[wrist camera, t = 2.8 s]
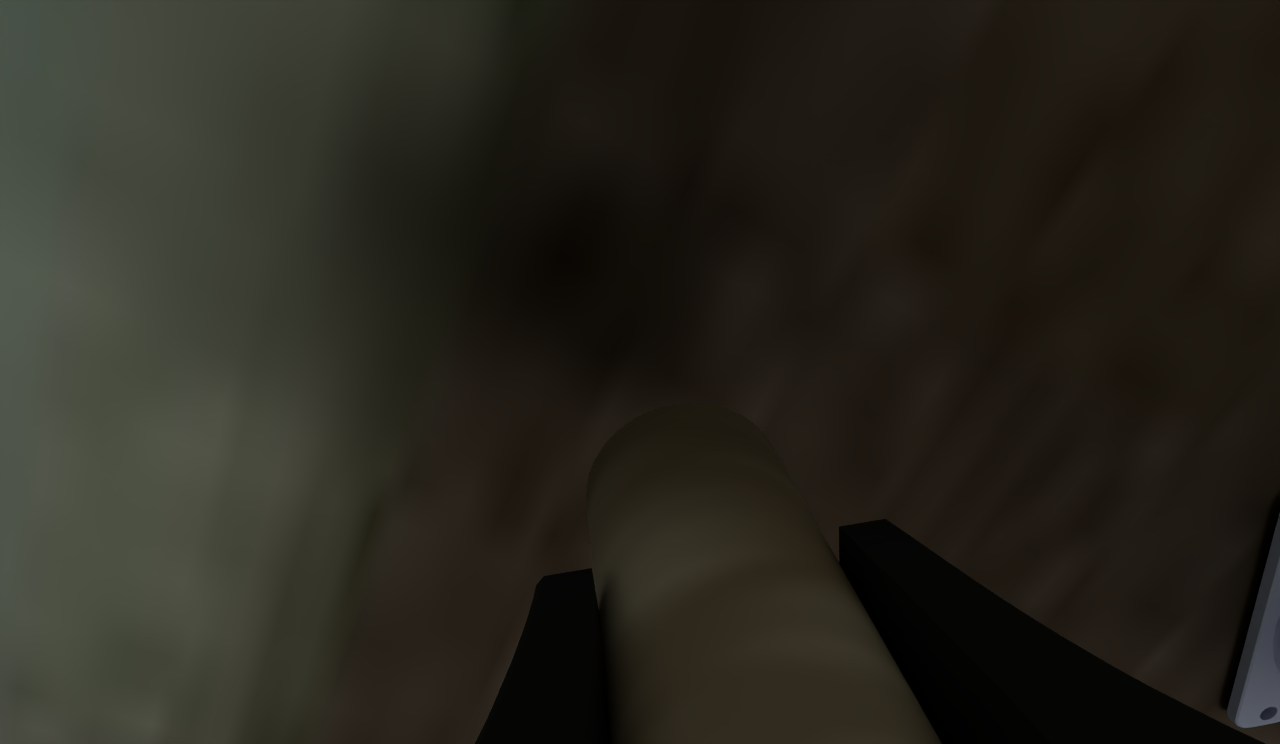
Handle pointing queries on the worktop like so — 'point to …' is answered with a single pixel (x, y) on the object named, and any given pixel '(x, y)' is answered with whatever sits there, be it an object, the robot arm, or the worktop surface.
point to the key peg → (729, 597)
